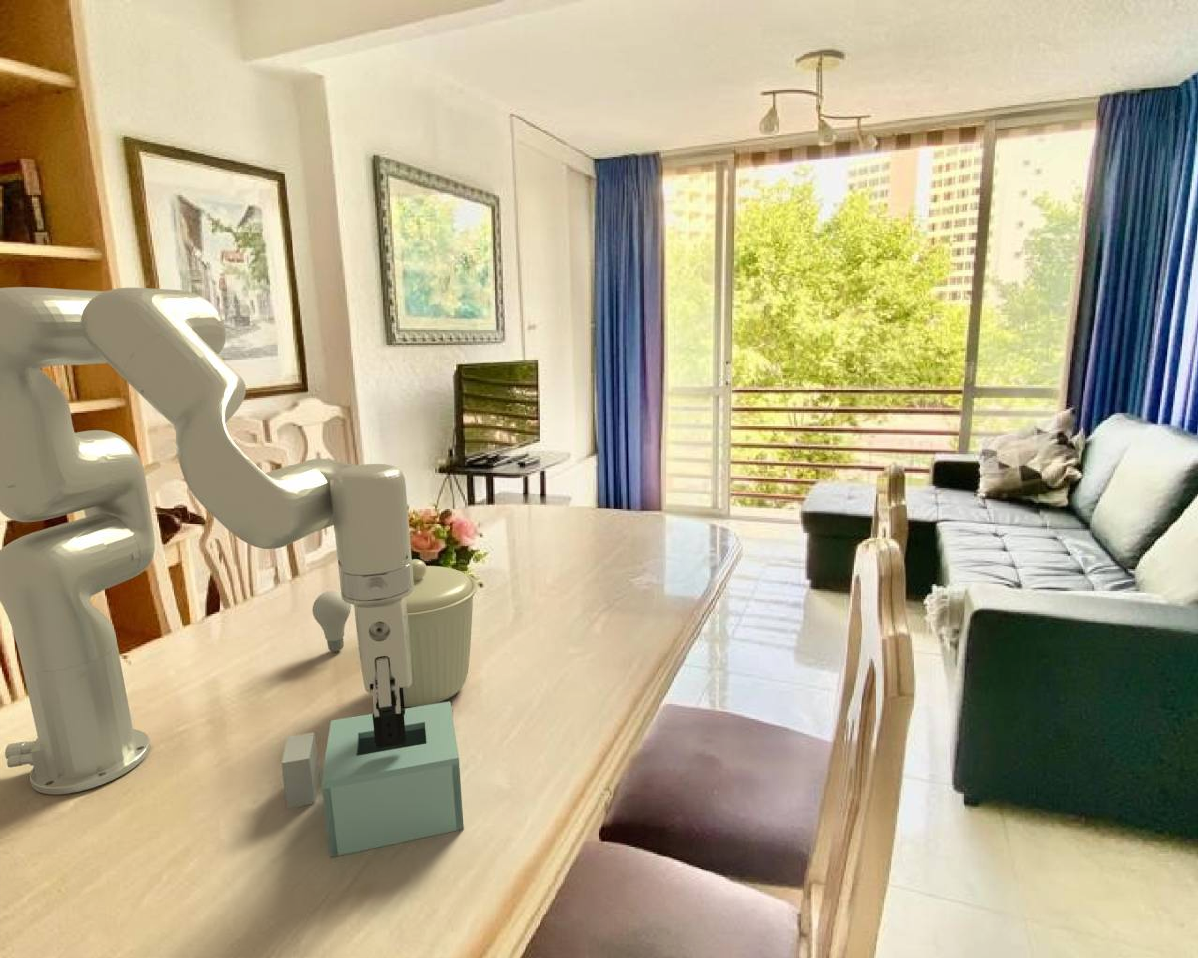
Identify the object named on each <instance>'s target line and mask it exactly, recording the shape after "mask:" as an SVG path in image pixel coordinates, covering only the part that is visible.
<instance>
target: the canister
mask: <svg viewBox="0 0 1198 958" xmlns="http://www.w3.org/2000/svg"><path fill="white" fill-rule="evenodd" d="M412 569H413V582H414V590H413V592H411V594H409V595H408V596H406V597H405V598H406V605H407V614H408V625H409V636H410V649H411V664H412V684H411V685H410V687H409V688H406V687H403V694H404V705H405V707H406V708H412V707H418V706H425V705H431V704H437V703H443V702H445V701H446V700H449V699H450V698H451V697H453V696H455V694H457V693H458V692H459V691H460V690H461V689H462V688H463V687H464V685H465V683H466V680H467V677H468V673H469V666H470V655H471V645H472V641H471V640H472V623H473V607H474V596H475V594H476V593H477V590H478V582H477V580H476V579H474V578H473V576H471V575H469V574H468V573H467V574H466V573H464V572H462V571H460V570H458V569H455V568H452V567H451V568H450V567H445V566H439V565H438V566H436V565H426V562H424V561H423V560H420V559H417V558H414V559H412Z"/></svg>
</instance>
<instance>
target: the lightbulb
mask: <svg viewBox="0 0 1198 958" xmlns="http://www.w3.org/2000/svg"><path fill="white" fill-rule="evenodd" d="M351 610H352V604H349V603H347V602H345V601H344V600H342V597H341V591H339V590H328V591H325V592H323V593H321V594H319V595H318V596H317V598H316V599H315V600H314V602H313V604H312V615H313V617H314V619H315V620H316V622H317V624H318V625H320V627H321V629H322V630H323V634H324V638H325V640H326V642H327V647H328V650H329V651H331V652H334V653H339V652H340V650H342V649H343V648H344V640H345V639H344V637H345V628H346V627H345V626H346V623H347V621H348V619H349V616H350V614H351Z"/></svg>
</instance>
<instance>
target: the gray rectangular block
mask: <svg viewBox="0 0 1198 958" xmlns="http://www.w3.org/2000/svg"><path fill="white" fill-rule="evenodd" d="M280 764H281V771H282V779H283V785H284V793H285V800H286V809H293V808H296V807H301V806H307V805H311V804H312V805H313V804H315V803H316V799H317V797H316V796H317V792H318V784H319V781H320V780H319V779H320V769H319V761H318V751H317V743H316V736H315V732H309V733H303V734H297V735H291V736H287V739H286V744H285V747H284V752H283V755H282V759H281V762H280Z"/></svg>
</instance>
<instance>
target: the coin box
mask: <svg viewBox="0 0 1198 958" xmlns="http://www.w3.org/2000/svg"><path fill="white" fill-rule="evenodd" d="M452 710H453V709H452V704H451V701H442V702H439V703H437V704H431V705H425V706H418V707H406V708H405V715H404V722H405V734H406V742H405V743H404V744H399V745H394V746H388V747H382V748H377V747H376V745H375V736H374V725H373V713H369V714H364V715H357V716H352V717H346V718H338V719H333V720H330V725H329V732H328V737H327V742H326V743H327V744H326V750H325V756H324V757H325V758H324V763H323V769H322V776H321V783H320V784H321V792H322V793H321V794H322V800H323V808H324V809H323V810H324V817H325V826H326V836H327V841H328V851H329V858H334V857H338V856H339V857H340V856H342V855H349V854H353V853H357V852H358V853H359V852H362V851H366V850H372V849H377V848H381V847H382V848H383V847H386V846H390V845H395V844H401V843H406V842H411V841H414V840H418V839H423V838H428V837H433V836H437V835H443V834H447V833H451V832H455V831H456V832H457V831H461V830H464V829H465V825H464V812H463V797H462V796H463V795H462V785H461V784H462V783H461V772H460V771H461V769H460V756H459V750H458V743H457V735H456V729H455V724H454V718H453V711H452Z"/></svg>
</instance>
